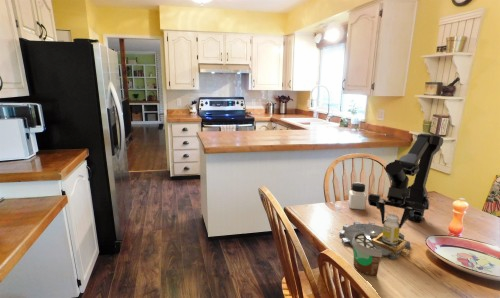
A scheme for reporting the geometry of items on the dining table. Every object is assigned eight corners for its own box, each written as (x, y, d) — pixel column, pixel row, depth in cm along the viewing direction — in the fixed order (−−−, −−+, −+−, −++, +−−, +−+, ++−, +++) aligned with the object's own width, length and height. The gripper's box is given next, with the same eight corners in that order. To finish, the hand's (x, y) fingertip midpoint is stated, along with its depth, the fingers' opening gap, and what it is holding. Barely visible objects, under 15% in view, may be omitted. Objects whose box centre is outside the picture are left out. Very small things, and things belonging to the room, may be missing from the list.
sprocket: (359, 219, 128) (360, 212, 127) (420, 242, 109) (422, 234, 109) (326, 238, 112) (327, 230, 111) (391, 269, 93) (392, 259, 93)
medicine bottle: (365, 209, 138) (367, 186, 136) (350, 208, 140) (352, 185, 137) (362, 204, 145) (365, 181, 142) (348, 202, 146) (350, 180, 144)
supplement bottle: (396, 238, 107) (399, 214, 105) (399, 245, 102) (402, 220, 100) (381, 235, 109) (383, 212, 107) (382, 243, 104) (385, 218, 102)
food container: (343, 257, 100) (346, 231, 98) (360, 256, 100) (363, 230, 98) (360, 280, 88) (363, 251, 86) (379, 279, 88) (382, 250, 86)
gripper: (371, 173, 109) (361, 210, 102) (428, 183, 99) (421, 224, 92) (373, 187, 117) (365, 222, 111) (426, 196, 107) (420, 236, 100)
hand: (391, 225), depth 103 cm, fingers closed on supplement bottle, 5 cm apart
